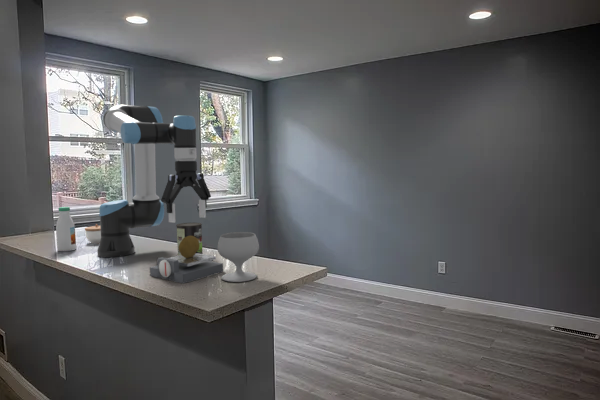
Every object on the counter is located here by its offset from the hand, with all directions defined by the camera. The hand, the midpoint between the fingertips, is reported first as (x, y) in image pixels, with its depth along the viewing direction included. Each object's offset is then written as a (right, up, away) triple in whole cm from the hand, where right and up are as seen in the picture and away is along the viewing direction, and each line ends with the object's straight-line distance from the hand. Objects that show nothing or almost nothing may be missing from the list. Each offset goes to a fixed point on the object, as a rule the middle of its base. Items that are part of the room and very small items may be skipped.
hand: (187, 219), depth 154 cm
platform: (0, -15, +1) cm, 15 cm away
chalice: (+19, -20, -7) cm, 28 cm away
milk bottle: (-68, -16, +46) cm, 84 cm away
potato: (0, -14, +1) cm, 14 cm away
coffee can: (-6, -17, +27) cm, 32 cm away
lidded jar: (-63, -15, +64) cm, 91 cm away
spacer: (+3, -18, +15) cm, 24 cm away
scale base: (0, -19, 0) cm, 19 cm away
